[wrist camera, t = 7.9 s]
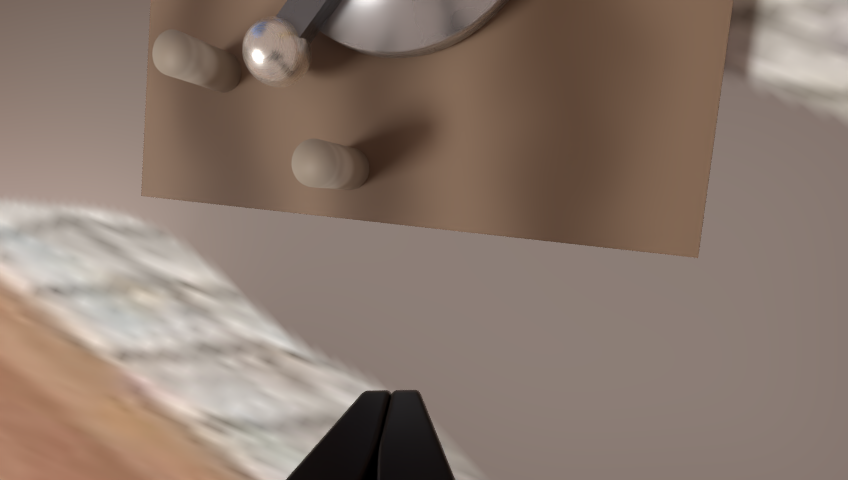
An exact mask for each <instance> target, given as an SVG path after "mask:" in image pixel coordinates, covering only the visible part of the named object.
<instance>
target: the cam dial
mask: <svg viewBox="0 0 848 480" xmlns="http://www.w3.org/2000/svg"><path fill="white" fill-rule="evenodd" d="M508 1H509V0H287V1H286V3H285V4H284V5H283V7H282V8H281V10H280V11H279V13H278V14H277V15H276V16H272V17H266V18H263V19H260V20H258V21H257V22H255V23H254V24H253V25H252V26H251V27H250V28H249V29H248V31H247V32H246V34H245V36H244V39H243V44H242V54H243V59H244V62H245V64H246V66H247V68H248V70H249V71H250V73H251V74H252V75H253V76H254V77H255V78H256V79H258V80H259V81H260V82H262V83H264V84H266V85H269V86H273V87H287V86H290V85H293V84H295V83H297V82H298V81H300V80H301V79H302V78H303V77H304V76H305V74H306V73H307V71H308V69H309V67H310V64H311V58H312V52H311V46H310V44H311V42H312V41H313V40H314V38H315V37H316V35H317V34H318V33H319V31H320V32H322V33H323V34H325V35H326V36H328V37H329V38H331V39H332V40H334V41H336V42H338V43H339V44H341V45H343V46H345V47H347V48H349V49H352V50H354V51H357V52H359V53H362V54H366V55H371V56H375V57H383V58H408V57H416V56H421V55H425V54H430V53H433V52H436V51H439V50H441V49H444V48H447V47H449V46H451V45H453V44H455V43H457V42H459V41H461V40H463V39H465V38H466V37H468V36H469V35H471V34H472V33H474V32H475V31H477V30H478V29H480V28H481V27H482V26H483V25H484V24H486V23H487V22H488V21H489V20H490V19H491V18H493V17H494V16H495V15H496V14H497V13H498V12H499V11H500V9H501V8H502V7H503V6H504V5H505V4H506V3H507V2H508Z"/></svg>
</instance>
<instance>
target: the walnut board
mask: <svg viewBox="0 0 848 480" xmlns="http://www.w3.org/2000/svg"><path fill="white" fill-rule="evenodd" d="M286 1H287V0H151V6H150V25H149V47H148V66H147V68H148V69H147V87H146V108H145V130H144V150H143V171H142V192H141V196H147V197H156V198H166V199H174V200H183V201H192V202H201V203H210V204H219V205H228V206H238V207H246V208H255V209H264V210H273V211H282V212H291V213H300V214H309V215H318V216H327V217H336V218H345V219H354V220H363V221H372V222H381V223H390V224H399V225H408V226H417V227H425V228H435V229H443V230H453V231H461V232H471V233H480V234H489V235H498V236H507V237H515V238H525V239H534V240H543V241H551V242H552V241H553V242H561V243H569V244H579V245H587V246H596V247H605V248H614V249H624V250H632V251H641V252H650V253H660V254H668V255H678V256H687V257H696V258H698V254H699V247H700V239H701V232H702V225H703V218H704V210H705V203H706V196H707V188H708V181H709V174H710V165H711V159H712V152H713V144H714V136H715V129H716V123H717V115H718V108H719V101H720V93H721V86H722V79H723V72H724V64H725V57H726V50H727V42H728V35H729V28H730V20H731V13H732V6H733V0H509V1H508V2H507V3H506V4H505V5H504V6H503V7H502V8H501V9H500V11H499V12H498V13H497V14H496V15H495V16H494V17H493V18H491V19H490V20H489V21H488V22H487V23H486V24H484V25H483V26H482V27H481V28H480V29H478V30H477V31H475V32H474V33H472V34H471V35H469V36H468V37H466V38H465V39H463V40H461V41H459V42H457V43H455V44H453V45H451V46H449V47H447V48H444V49H441V50H439V51H436V52H433V53H430V54H425V55H421V56H416V57H408V58H383V57H375V56H371V55H366V54H362V53H359V52H357V51H354V50H352V49H349V48H347V47H345V46H343V45H341V44H339V43H338V42H336V41H334V40H332V39H331V38H329V37H328V36H326V35H325V34H323V33H322V32H320V31H319V33H318V34H317V35H316V37H315V38H314V40H313V41H312V42H311V44H310V46H311V52H312V58H311V64H310V67H309V69H308V71H307V73H306V74H305V76H304V77H303V78H302V79H301V80H300V81H298V82H297V83H295V84H293V85H290V86H287V87H273V86H269V85H266V84H264V83H262V82H260V81H259V80H258V79H256V78H255V77H254V76H253V75H252V74H251V73H250V71H249V70H248V68H247V66H246V64H245V62H244V59H243V54H242V44H243V39H244V36H245V34H246V32H247V31H248V29H249V28H250V27H251V26H252V25H253V24H254V23H255V22H257V21H258V20H260V19H263V18H266V17H272V16H276V15H277V14H278V13H279V11H280V10H281V8H282V7H283V5H284V4H285V3H286Z"/></svg>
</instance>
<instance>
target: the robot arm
mask: <svg viewBox="0 0 848 480" xmlns="http://www.w3.org/2000/svg"><path fill="white" fill-rule="evenodd" d="M286 480H455V478H454V476H453V473H452V471H451V468H450V466H449V463H448V461H447V458H446V456H445V453H444V451H443V448H442V446H441V443H440V441H439V438H438V436H437V433H436V431H435V428H434V426H433V423H432V421H431V418H430V416H429V414H428V411H427V409H426V406H425V404H424V401H423V399H422V396H421V394H420V392H419V391H417V390H396V391H394V392H393V393H392V394H391V393H390V392H389V391H387V390H382V391H365V392H364V393H362V394H361V395H360V396H359V397H358V399H357V400H356V401H355V402H354V403H353V404H352V405H351V406H350V408H349V409H348V410H347V411H346V412H345V413H344V414H343V416H342V417H341V418H340V419H339V420H338V421H337V422H336V423H335V425H334V426H333V427H332V428H331V429H330V430H329V431H328V433H327V434H326V435H325V436H324V437H323V438H322V439H321V440H320V442H319V443H318V444H317V445H316V446H315V447H314V448H313V450H312V451H311V452H310V453H309V454H308V455H307V456H306V457H305V459H304V460H303V461H302V462H301V463H300V464H299V465H298V467H297V468H296V469H295V470H294V471H293V472H292V473H291V474H290V476H289V477H288V478H287V479H286Z"/></svg>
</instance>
